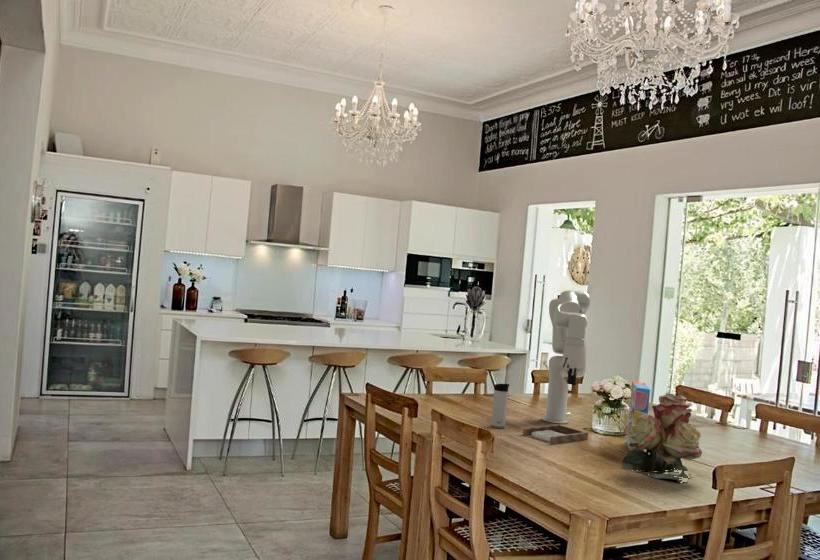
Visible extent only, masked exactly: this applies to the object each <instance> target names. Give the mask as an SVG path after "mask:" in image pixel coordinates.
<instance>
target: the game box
mask: <svg viewBox="0 0 820 560" xmlns="http://www.w3.org/2000/svg"><path fill="white" fill-rule="evenodd" d="M650 394H651V389H650V388H649V386H648V385H647V384H646V383H644V382H638V381H632V382H631V388H630V398H629V410H628V417H627V418H628V420H627V425H629V424H630V423H631V422H632V421H634V420H636V419H637V418H638V417H639V416H640V415H642V414H645V413H646V414H648V415H649V406H650V405H649V404H650ZM625 443H626V445H627V447H628V450H629V453H631V450H633V449H635V448H636V447H635V446H633V447H631V446H629V444H630V443H632V442H630V439H629V437H628V435H627V434H626V440H625ZM632 444H633V443H632ZM643 451H645V449H644V450H643Z"/></svg>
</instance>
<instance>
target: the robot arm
mask: <svg viewBox="0 0 820 560" xmlns="http://www.w3.org/2000/svg"><path fill="white" fill-rule="evenodd" d="M590 305H591V296H590V295H589V293H587V292H585V291H578V290H576V291H575V290H564V291H562V292H561V293H560V294H559V296H558V298H553V299H551V300H550V302H549V305H548V314H549V319H550V322H551V325H552V338H551V339H552V342H551V344H552V347H551V348H552V351H553V352H554V353H555V354H556V355H554V356H551V357H550V358H549V360H548V385H547V386H548V387H547V397H546V406H545V415H543V416H542V417H541V420H542V421H545V422H546V423H551V424H558V425H565V424H568V423H569V419H567V418H568V417H571V416H572V413H571V412H567V406H568V405H567V402H568V394H569V385H571V386H572V385H576V384H577V383H576V380H577V378H578V379H579V378H582V377H584V376H585V373H586V367H587V366H586V362H587V361H586V357H587V355H586V354H587V353H586V352H587V348H586V347H587V346H586V345H587V344H586V341H585V337H586V328H587V326H588V318H587V316H586V313H587V312H588V310H589V308H590ZM557 354H558V355H557ZM565 377H567V380H566V379H565Z"/></svg>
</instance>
